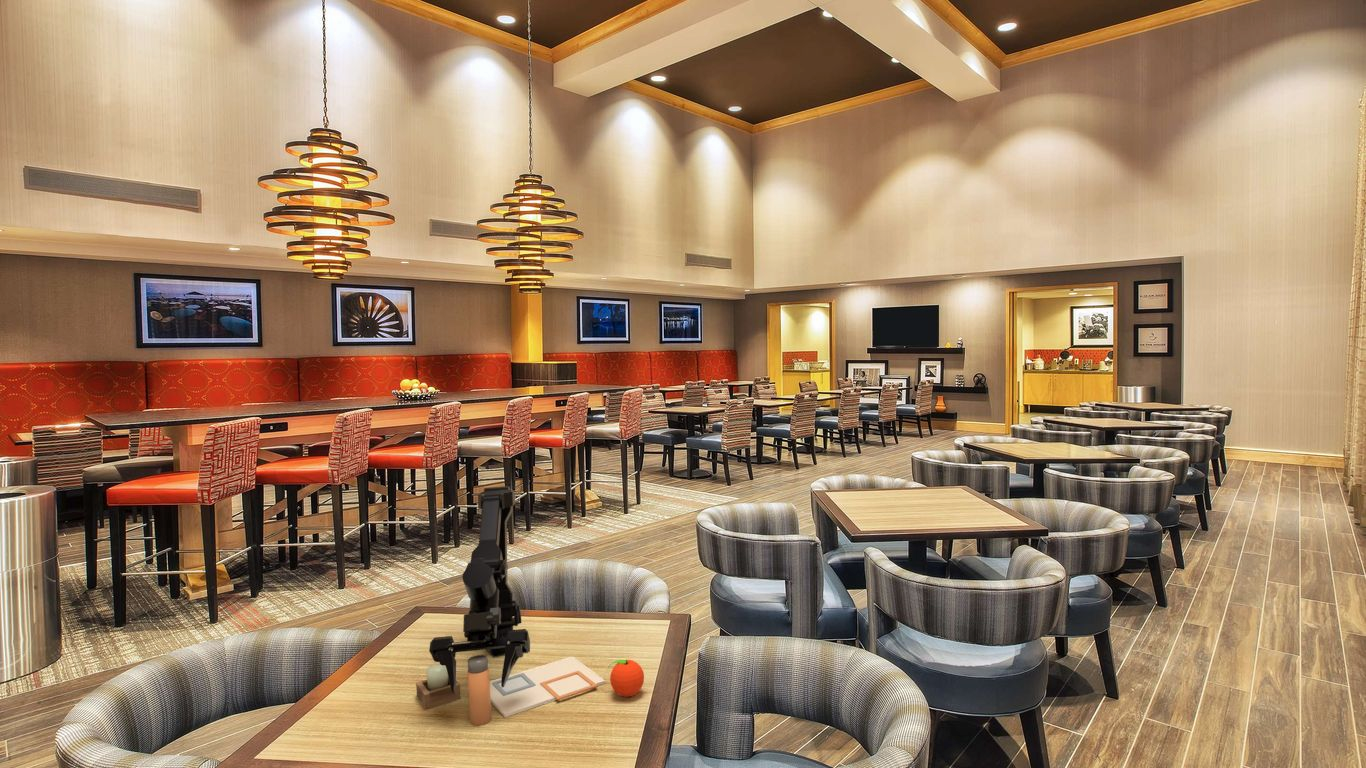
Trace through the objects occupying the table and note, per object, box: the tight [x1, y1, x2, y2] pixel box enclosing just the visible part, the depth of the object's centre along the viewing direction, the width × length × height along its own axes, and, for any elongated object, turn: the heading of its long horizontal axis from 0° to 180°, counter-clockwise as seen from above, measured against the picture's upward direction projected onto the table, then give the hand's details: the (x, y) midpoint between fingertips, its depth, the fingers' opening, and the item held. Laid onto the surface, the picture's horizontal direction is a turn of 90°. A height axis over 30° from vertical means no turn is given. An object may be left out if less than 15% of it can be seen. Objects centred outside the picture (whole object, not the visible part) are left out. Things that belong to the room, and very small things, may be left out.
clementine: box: [607, 659, 645, 698], centre depth 139 cm, size 8×7×7 cm
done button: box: [426, 663, 448, 691], centre depth 142 cm, size 4×4×4 cm
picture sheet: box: [490, 656, 606, 718], centre depth 144 cm, size 18×22×1 cm
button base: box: [415, 677, 461, 710], centre depth 142 cm, size 7×7×3 cm
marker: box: [466, 654, 493, 727], centre depth 131 cm, size 4×4×12 cm
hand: (477, 689), depth 130 cm, fingers open, 9 cm apart
